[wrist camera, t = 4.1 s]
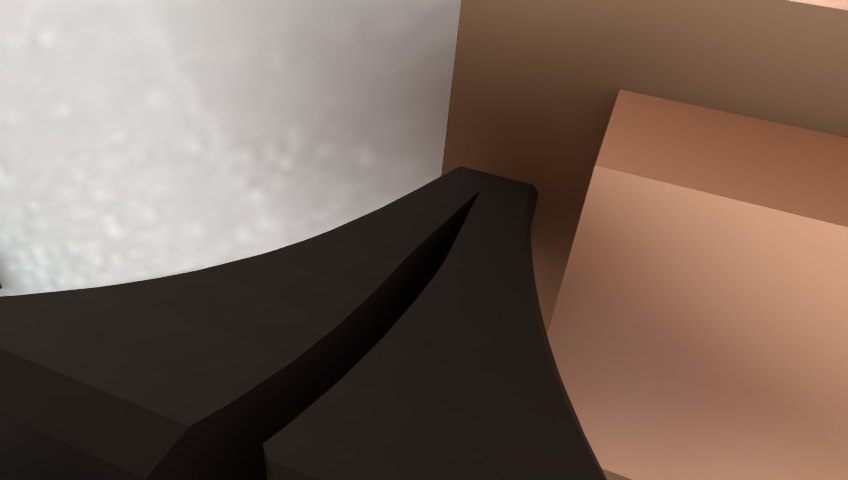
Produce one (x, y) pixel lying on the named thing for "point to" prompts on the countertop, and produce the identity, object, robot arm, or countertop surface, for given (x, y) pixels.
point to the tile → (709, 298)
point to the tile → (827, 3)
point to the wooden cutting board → (624, 88)
